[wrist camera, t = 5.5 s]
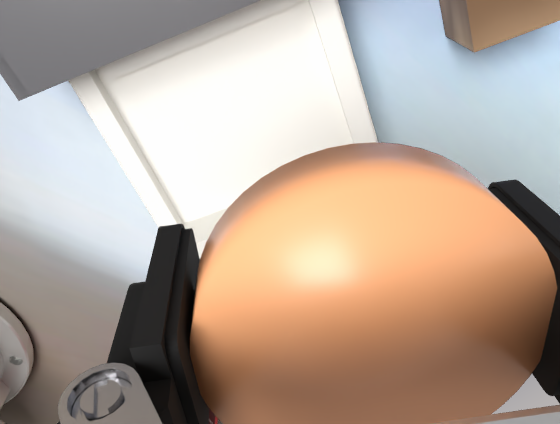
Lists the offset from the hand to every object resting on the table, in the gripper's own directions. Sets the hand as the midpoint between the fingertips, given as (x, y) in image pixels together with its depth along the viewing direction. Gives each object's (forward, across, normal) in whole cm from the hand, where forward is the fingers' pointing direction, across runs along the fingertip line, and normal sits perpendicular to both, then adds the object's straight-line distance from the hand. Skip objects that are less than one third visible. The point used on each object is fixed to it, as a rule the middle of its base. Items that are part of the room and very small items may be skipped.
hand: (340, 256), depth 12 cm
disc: (-1, 0, 0) cm, 1 cm away
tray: (+14, +3, 0) cm, 14 cm away
